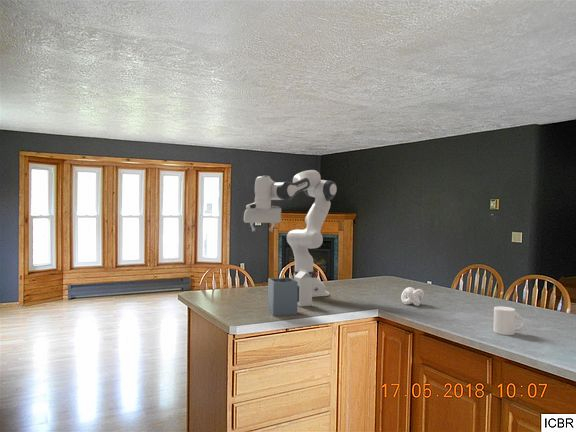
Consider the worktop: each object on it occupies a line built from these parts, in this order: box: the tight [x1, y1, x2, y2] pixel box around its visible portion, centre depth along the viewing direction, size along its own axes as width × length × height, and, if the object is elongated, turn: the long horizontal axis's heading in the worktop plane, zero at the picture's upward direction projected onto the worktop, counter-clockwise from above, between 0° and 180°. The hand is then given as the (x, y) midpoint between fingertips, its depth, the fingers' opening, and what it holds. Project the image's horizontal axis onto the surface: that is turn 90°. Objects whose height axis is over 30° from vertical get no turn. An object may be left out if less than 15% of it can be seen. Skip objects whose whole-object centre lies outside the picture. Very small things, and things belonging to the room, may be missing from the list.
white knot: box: [400, 286, 425, 307], centre depth 243 cm, size 11×12×9 cm
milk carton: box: [293, 269, 313, 307], centre depth 238 cm, size 7×7×19 cm
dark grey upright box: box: [267, 277, 299, 316], centre depth 221 cm, size 14×12×16 cm
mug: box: [492, 305, 526, 336], centre depth 189 cm, size 8×10×12 cm
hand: (262, 231), depth 240 cm, fingers open, 8 cm apart
